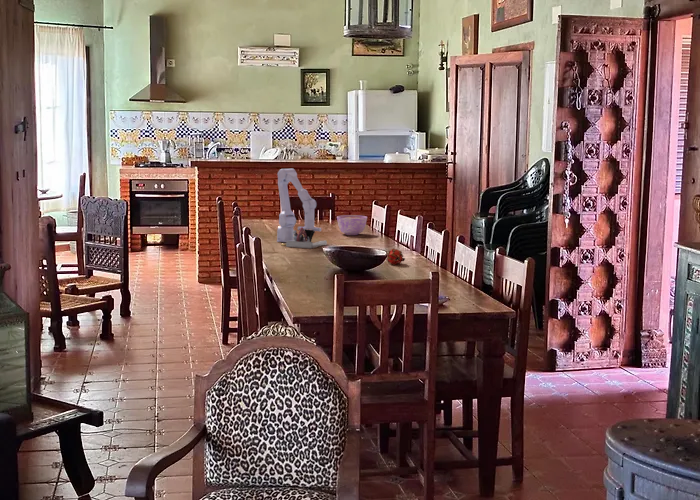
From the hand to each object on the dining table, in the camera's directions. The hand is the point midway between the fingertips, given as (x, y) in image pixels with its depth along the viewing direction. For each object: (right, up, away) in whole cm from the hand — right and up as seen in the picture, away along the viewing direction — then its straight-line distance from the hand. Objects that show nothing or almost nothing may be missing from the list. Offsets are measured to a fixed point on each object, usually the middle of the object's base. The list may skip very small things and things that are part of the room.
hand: (309, 242), depth 504 cm
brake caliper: (-5, -2, -6) cm, 8 cm away
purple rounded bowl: (+25, +6, +49) cm, 56 cm away
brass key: (-13, -2, -4) cm, 14 cm away
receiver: (-2, -2, -5) cm, 5 cm away
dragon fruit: (+47, -12, -66) cm, 82 cm away
